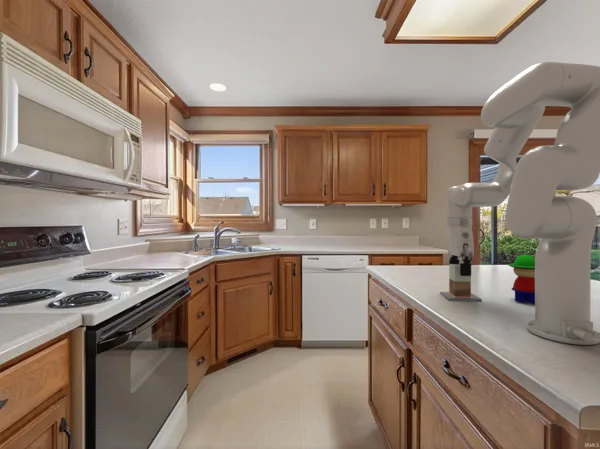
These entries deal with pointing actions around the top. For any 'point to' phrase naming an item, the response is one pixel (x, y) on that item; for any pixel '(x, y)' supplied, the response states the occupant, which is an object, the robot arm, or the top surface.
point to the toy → (524, 279)
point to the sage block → (457, 273)
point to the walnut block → (460, 288)
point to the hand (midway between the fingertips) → (459, 273)
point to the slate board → (458, 298)
